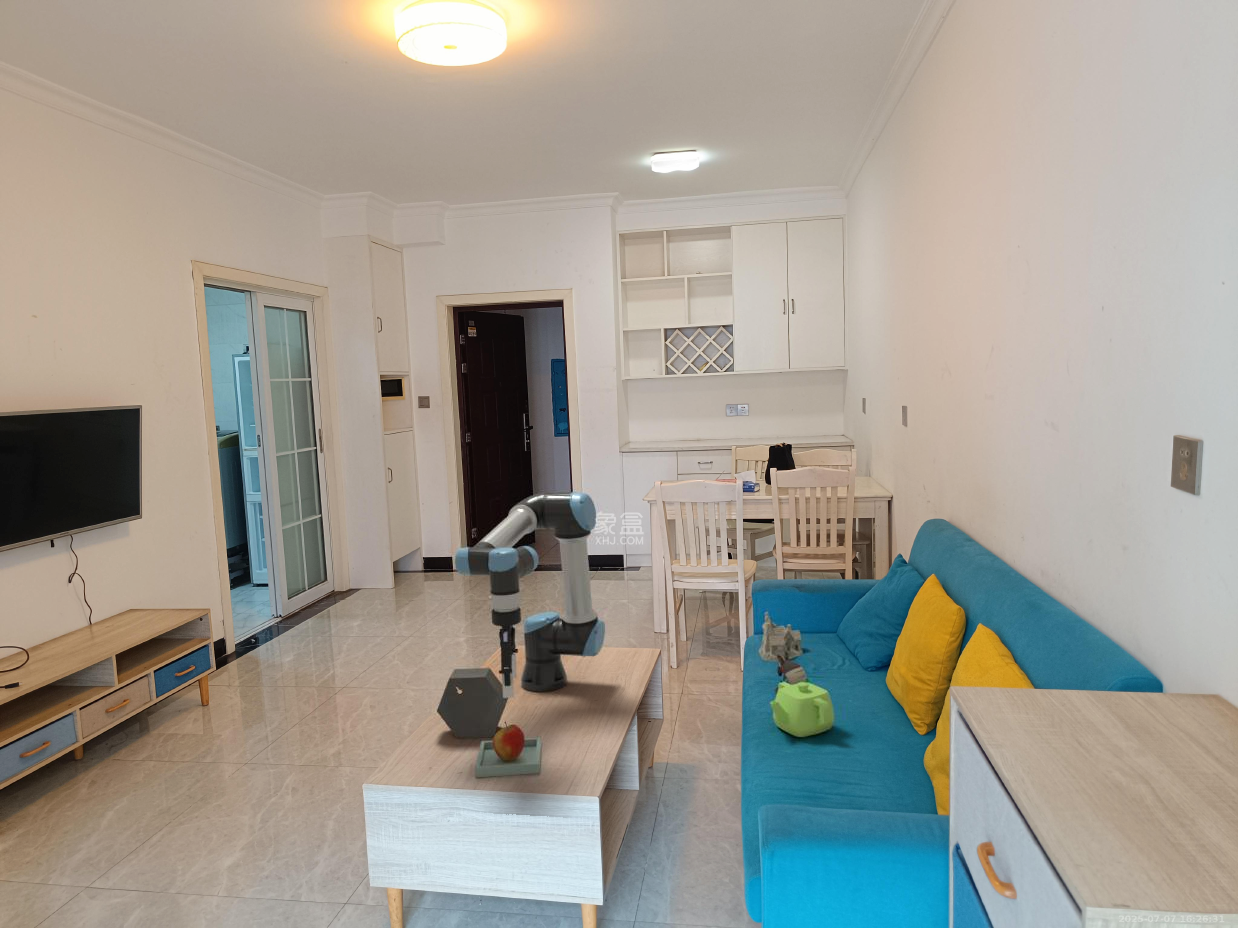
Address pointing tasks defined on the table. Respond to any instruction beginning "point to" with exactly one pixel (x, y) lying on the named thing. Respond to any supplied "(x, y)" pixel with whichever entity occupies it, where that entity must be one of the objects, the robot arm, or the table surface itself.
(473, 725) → the grey hexagonal block
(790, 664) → the figurine
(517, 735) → the apple
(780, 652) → the ceramic cottage
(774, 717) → the teapot
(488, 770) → the dish
